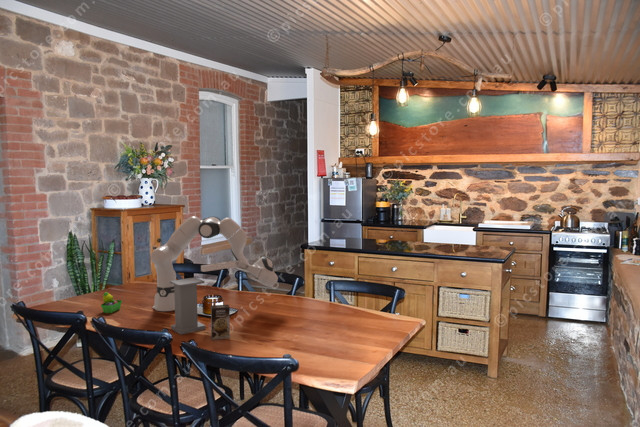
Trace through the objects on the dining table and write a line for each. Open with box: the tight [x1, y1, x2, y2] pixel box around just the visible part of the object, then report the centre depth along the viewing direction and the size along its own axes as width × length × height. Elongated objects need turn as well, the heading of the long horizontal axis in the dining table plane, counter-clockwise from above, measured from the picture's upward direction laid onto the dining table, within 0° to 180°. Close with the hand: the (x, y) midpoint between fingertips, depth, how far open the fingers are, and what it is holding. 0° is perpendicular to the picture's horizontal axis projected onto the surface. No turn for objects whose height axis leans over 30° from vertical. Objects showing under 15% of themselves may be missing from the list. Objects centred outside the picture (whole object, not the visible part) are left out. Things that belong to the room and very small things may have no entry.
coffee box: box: [210, 304, 231, 341], centre depth 252 cm, size 9×6×16 cm
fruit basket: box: [100, 291, 123, 314], centre depth 300 cm, size 11×9×11 cm
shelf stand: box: [170, 277, 207, 335], centre depth 265 cm, size 14×12×26 cm
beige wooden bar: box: [200, 259, 243, 272], centre depth 276 cm, size 24×3×3 cm, turn 129°
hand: (236, 262), depth 282 cm, fingers closed on beige wooden bar, 3 cm apart
